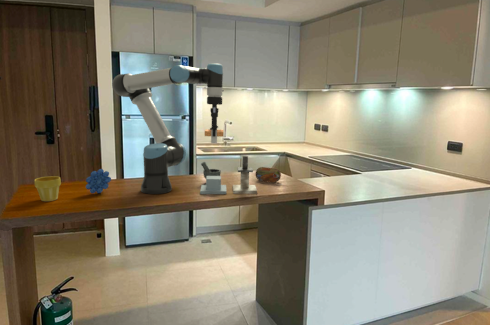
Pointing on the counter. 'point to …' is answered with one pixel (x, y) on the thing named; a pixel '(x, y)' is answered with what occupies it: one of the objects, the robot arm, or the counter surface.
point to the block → (213, 186)
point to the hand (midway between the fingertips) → (214, 141)
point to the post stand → (244, 179)
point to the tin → (268, 174)
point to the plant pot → (48, 187)
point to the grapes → (98, 181)
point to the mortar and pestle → (210, 171)
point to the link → (219, 133)
